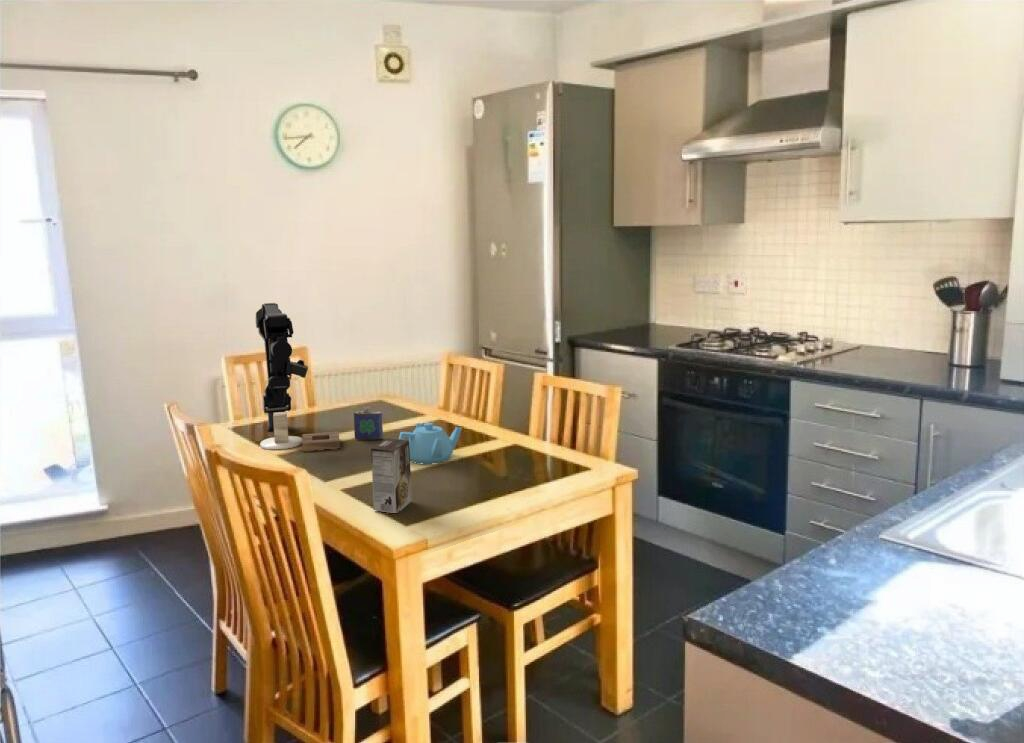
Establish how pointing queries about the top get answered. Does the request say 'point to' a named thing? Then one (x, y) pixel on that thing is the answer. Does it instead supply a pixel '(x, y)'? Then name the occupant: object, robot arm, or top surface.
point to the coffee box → (391, 475)
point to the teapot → (430, 443)
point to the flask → (368, 425)
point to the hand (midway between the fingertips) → (282, 403)
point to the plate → (291, 443)
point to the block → (280, 427)
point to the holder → (320, 441)
